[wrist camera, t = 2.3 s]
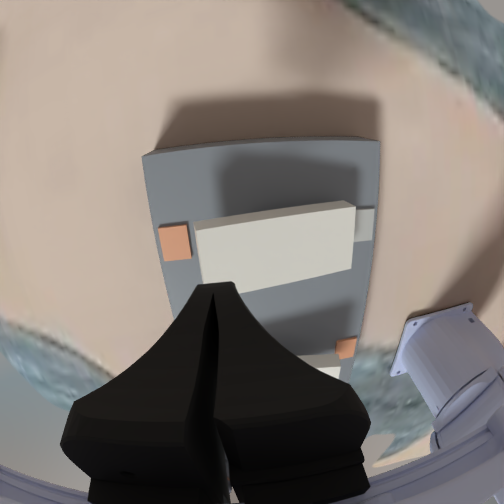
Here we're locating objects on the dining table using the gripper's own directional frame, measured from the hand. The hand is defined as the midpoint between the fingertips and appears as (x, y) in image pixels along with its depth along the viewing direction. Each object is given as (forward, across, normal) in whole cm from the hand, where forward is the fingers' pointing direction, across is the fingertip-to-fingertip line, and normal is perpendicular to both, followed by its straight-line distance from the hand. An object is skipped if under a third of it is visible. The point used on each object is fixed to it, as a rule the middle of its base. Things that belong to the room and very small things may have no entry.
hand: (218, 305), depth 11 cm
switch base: (+9, -3, +5) cm, 11 cm away
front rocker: (+5, -3, 0) cm, 6 cm away
